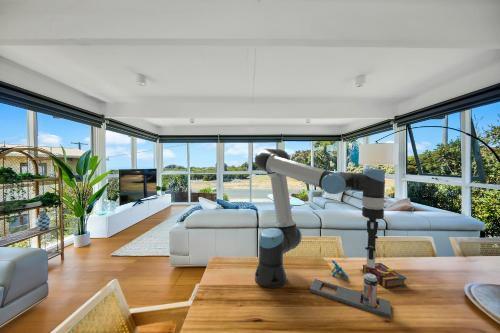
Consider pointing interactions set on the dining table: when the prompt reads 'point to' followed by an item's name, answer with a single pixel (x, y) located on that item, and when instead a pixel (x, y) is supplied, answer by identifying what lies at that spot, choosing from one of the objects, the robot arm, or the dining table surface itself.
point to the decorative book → (385, 276)
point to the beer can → (370, 290)
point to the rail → (349, 297)
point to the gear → (338, 269)
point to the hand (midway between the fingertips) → (371, 259)
